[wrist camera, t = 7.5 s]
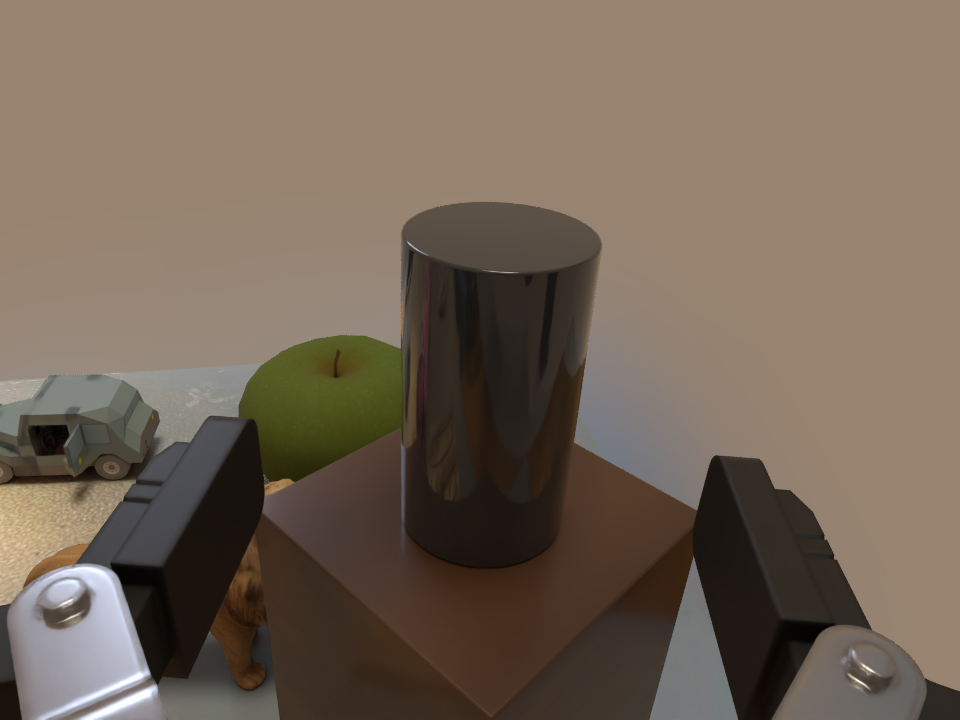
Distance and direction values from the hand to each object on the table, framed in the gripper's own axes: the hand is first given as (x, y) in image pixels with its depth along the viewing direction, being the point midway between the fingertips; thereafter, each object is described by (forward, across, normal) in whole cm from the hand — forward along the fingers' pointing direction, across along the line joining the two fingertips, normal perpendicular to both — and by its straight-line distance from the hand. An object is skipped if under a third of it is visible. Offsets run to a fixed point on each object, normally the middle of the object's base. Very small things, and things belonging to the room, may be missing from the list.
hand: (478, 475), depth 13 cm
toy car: (+24, +25, +21) cm, 41 cm away
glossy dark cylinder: (+7, 0, +7) cm, 10 cm away
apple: (+24, +8, +21) cm, 33 cm away
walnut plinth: (+7, 0, +21) cm, 22 cm away
